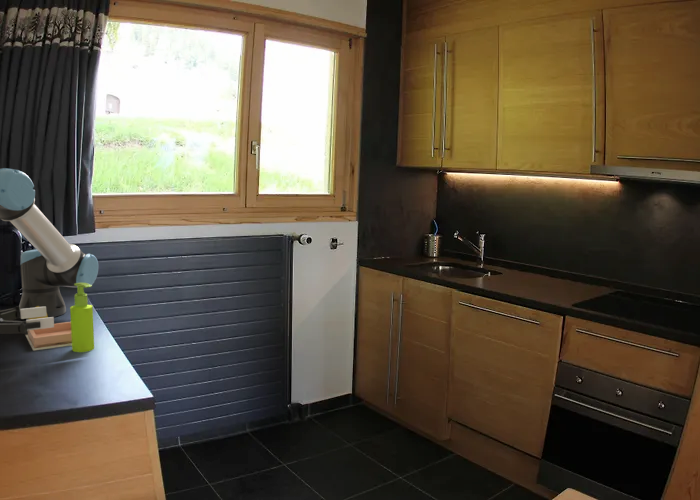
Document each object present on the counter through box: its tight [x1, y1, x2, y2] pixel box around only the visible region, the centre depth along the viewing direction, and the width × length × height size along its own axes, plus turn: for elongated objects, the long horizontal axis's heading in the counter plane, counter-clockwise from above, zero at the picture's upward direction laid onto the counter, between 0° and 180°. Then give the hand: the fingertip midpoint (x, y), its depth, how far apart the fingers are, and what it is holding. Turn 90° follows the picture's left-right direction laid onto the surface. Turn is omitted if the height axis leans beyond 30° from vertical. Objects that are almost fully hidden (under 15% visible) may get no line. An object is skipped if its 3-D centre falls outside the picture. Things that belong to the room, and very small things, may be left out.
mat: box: [25, 334, 72, 351], centre depth 189 cm, size 18×15×1 cm
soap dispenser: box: [69, 282, 95, 353], centre depth 178 cm, size 6×7×20 cm
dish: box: [27, 321, 72, 348], centre depth 189 cm, size 14×14×3 cm
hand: (49, 316), depth 173 cm, fingers open, 13 cm apart
